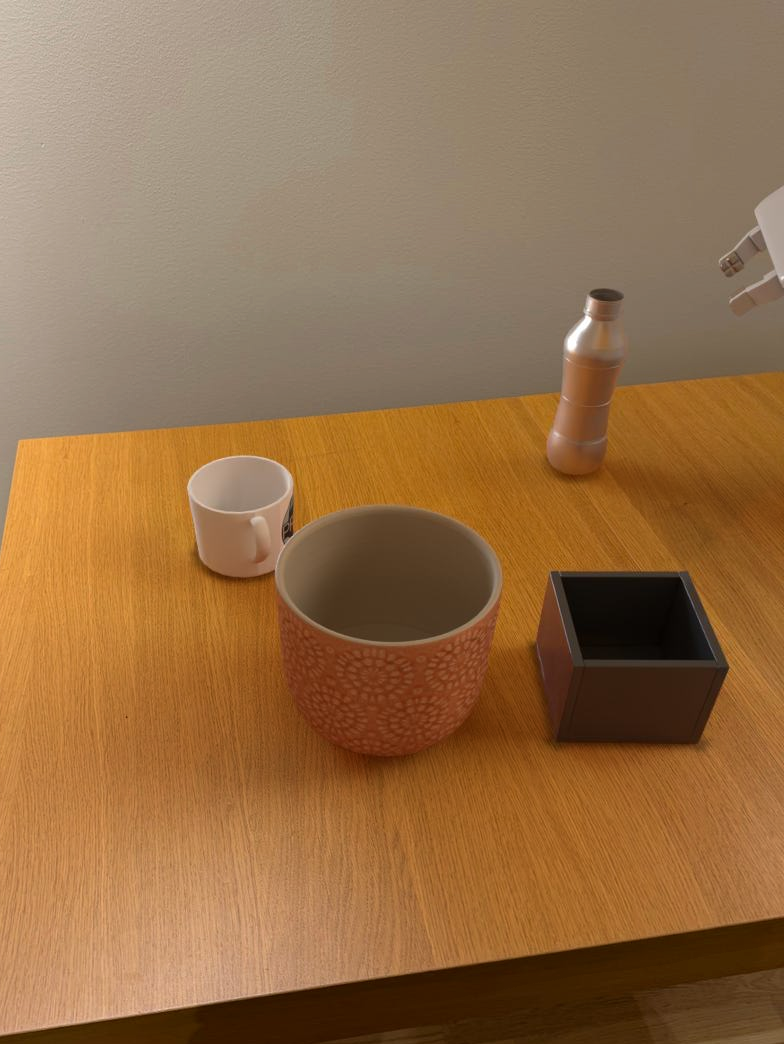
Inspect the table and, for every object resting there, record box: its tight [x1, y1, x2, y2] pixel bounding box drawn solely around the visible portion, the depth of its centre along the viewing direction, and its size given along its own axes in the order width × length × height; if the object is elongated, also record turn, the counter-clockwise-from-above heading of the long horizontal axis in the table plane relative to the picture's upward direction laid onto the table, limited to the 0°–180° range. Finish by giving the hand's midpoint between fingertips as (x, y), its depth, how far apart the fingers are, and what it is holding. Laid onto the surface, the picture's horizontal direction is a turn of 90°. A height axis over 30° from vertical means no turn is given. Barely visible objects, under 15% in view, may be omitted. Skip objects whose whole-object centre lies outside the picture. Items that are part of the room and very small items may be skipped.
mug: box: [186, 455, 295, 579], centre depth 92 cm, size 13×10×8 cm
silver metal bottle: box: [546, 287, 629, 476], centre depth 99 cm, size 6×7×20 cm
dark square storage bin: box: [534, 570, 731, 744], centre depth 77 cm, size 12×12×9 cm
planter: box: [274, 504, 504, 757], centre depth 74 cm, size 17×17×15 cm
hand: (727, 288), depth 90 cm, fingers open, 8 cm apart
